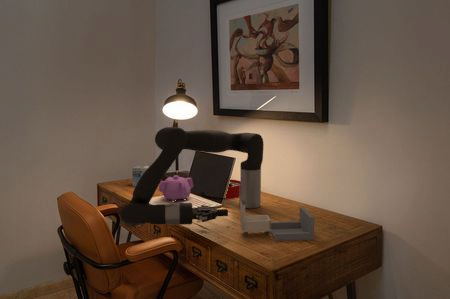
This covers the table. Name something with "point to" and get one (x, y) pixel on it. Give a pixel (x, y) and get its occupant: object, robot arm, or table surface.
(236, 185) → the toy clock
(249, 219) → the toy cart
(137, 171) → the light bulb box
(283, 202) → the table surface
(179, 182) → the pot
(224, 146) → the robot arm
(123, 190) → the table surface
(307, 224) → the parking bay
